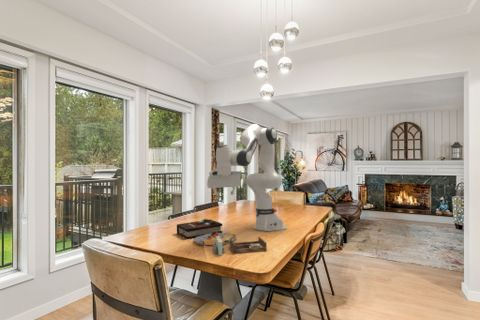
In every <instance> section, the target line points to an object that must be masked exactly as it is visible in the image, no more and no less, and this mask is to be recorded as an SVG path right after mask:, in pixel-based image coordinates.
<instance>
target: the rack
mask: <svg viewBox="0 0 480 320" xmlns="http://www.w3.org/2000/svg"><path fill="white" fill-rule="evenodd" d="M257 239H258V240H252V241H251V240H250V241H241V242H234V241H232V240H233V239H230V240H229V241H230V242H229V248H230V249H231V251H232V253H233V254H234V255H235V254H246V253H255V252H257V253H258V252H267V242H266V241H265V240H264V238H262V237H260V236H258V237H257ZM251 244H259V245H261V246H262V247H257V248H249V246H250V245H251Z"/></svg>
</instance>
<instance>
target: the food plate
mask: <svg viewBox="0 0 480 320" xmlns="http://www.w3.org/2000/svg"><path fill="white" fill-rule="evenodd" d="M216 236H219V237H220V239H221V240H222V239H223V240H224V241H223V244H224V245H225V244H228V243H229V244H230V239H232V241H233V242H234V241H235V240H237V238H236V236H235V234H234V233H233V234H230V233H226V232H222V233H217V232H213V233H211V234H205V235H201V236H198V237H196V238H193V241H194V243H196V244H199V245H204V246H206V244H205V240H206V241H207V240H216ZM204 239H205V240H204ZM201 241H202V242H201ZM213 244H215V246H216V242H212V243H211V245H213Z"/></svg>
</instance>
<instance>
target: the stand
mask: <svg viewBox="0 0 480 320" xmlns="http://www.w3.org/2000/svg"><path fill="white" fill-rule="evenodd" d="M212 247H213V248H212V250H213V252H214V254H215V255H217V254H218V252H217V248H216V245H215V244H212ZM225 253H226V252H225V247H224V244H222V254H225Z"/></svg>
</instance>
